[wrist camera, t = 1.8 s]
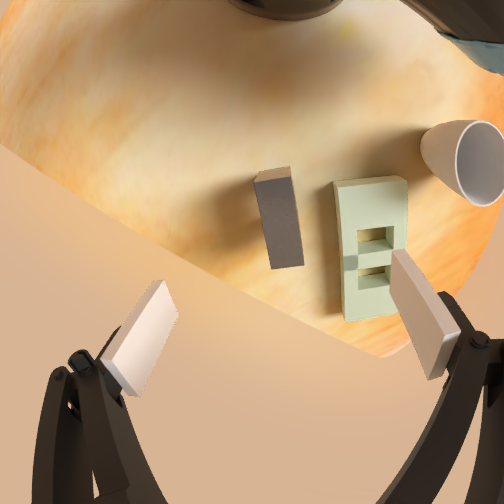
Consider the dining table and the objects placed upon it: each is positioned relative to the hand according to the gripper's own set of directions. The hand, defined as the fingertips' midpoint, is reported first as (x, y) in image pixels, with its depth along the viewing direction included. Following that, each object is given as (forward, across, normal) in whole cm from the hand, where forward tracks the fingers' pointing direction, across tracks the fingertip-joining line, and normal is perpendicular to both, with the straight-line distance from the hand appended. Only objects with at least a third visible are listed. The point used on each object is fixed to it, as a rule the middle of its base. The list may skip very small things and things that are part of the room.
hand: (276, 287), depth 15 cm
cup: (+18, +20, +4) cm, 27 cm away
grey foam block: (+18, 0, 0) cm, 18 cm away
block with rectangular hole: (+18, +10, -8) cm, 22 cm away
